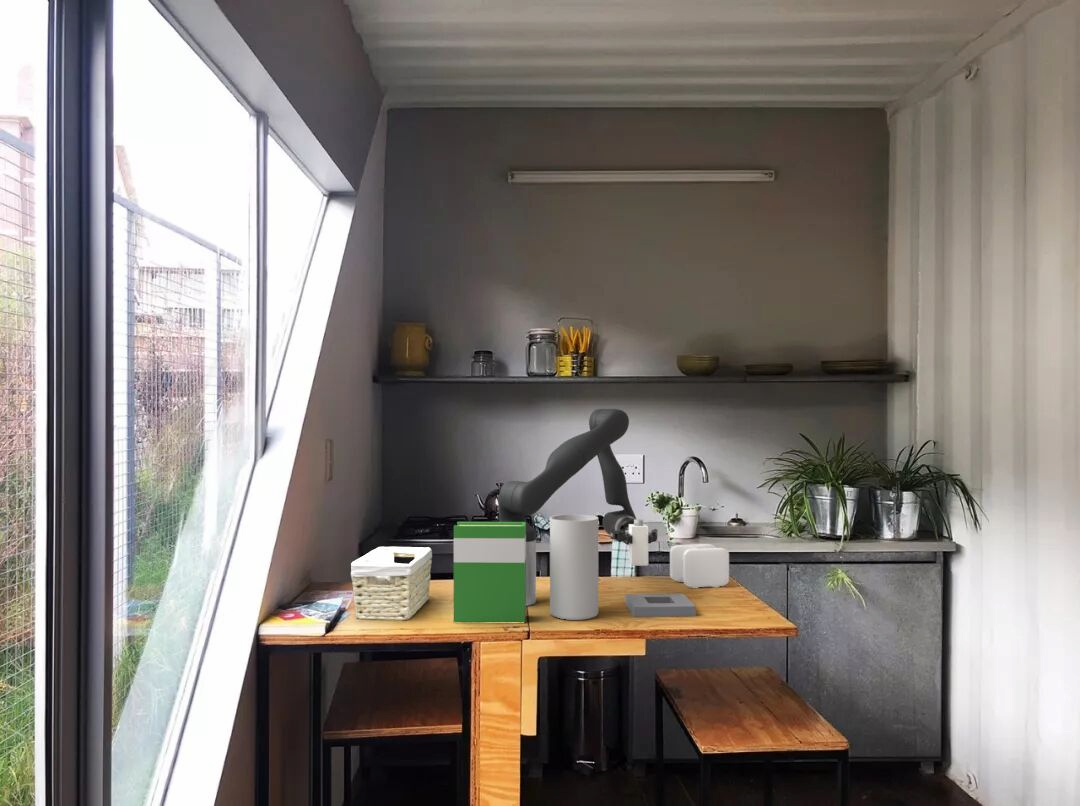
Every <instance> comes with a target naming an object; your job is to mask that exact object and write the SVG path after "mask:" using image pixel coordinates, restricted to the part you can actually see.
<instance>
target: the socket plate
mask: <svg viewBox="0 0 1080 806" xmlns="http://www.w3.org/2000/svg"><path fill="white" fill-rule="evenodd" d="M624 597H625V598H624V604H625V606H626V607H627V608H628V610H629V612H630V613H631V615H632V616H633V618H643V617H645V618H651V617H653V618H656V617H658V618H659V617H696V616H697V614H696V613H697V612H696V611H697V608H696V605H695V604H694V603H693V602H692V600H690V599H689V598H688V597H687V596H686V595H685V593H625V596H624Z"/></svg>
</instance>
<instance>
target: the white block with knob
mask: <svg viewBox="0 0 1080 806" xmlns="http://www.w3.org/2000/svg"><path fill="white" fill-rule="evenodd" d="M648 532H649V526H648V525H647V524H645V523H644V520H643V519H640V518H639V519H638V518H636V519H635V520H634V524H629V534H631V535H632V537H633V543H632V544H630V543H629V545H628V563H629V564H630V565H631V566H632V567H633V566H641V567H642V566H649V544H648Z"/></svg>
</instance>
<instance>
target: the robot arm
mask: <svg viewBox="0 0 1080 806" xmlns="http://www.w3.org/2000/svg"><path fill="white" fill-rule="evenodd" d="M588 420H589V421H588V425H589V426H588V427H589V430H588V431H585V432H583V433H581V434H580V433H579V434H578V435H575V436H573V437H571V438H569V439H567V440H566V441H564V442H562V444H560V445H559V446H558V447H556V449H554V450H553V451H552V452H551V453H550V454H549V456H548V458H547V461H546V464H545V468H544V469H543V471H542V472H540V474H538V475H537V476H535V477H534V478H532V479H531V480H529V481H520V480H519V481H518V480H509V481H506V482H505V483H503V485H502V486H501V487H500V490H499V493H498V502H497V503H498V518H499V519H498V520H499V521H498V522H526V607H529V606H531V605H534V604H536V603H537V532H536V529H535V528H534V527H532V526H531V525H530V524H529V523H528V521H527V519H526V516H527V517H528V516H532V515H534V514H536V513H537V512H538V511H539V510H540V509H541V508H542V507H543V506H544V505H545V504H546V503H547V502H548V501H549V499H550V498H551V497H552V496H554V494H555V493H556V492H557V491H558V490H560V488H561V487H562V486H564V484H566V483H567V482H568V481H569V480H570V479H571V478H572V477H574V476H575V475H576V474H578V473H579V472H580V471H581V470H583V468H584V467H585V466H586V465H587V464H588V463H589V462H590V461H591V460H593V459H594V458H596V457H597V459H598V463H599V466H600V471H601V475H602V481H603V489H604V497H605V502H606V504H608V505H610V506H611V505H612V506H620V507H622V509H621V510H614V511H610V512H607V513H605V515H604V516H603V518H602V527H603V529H604V531H605V532H606V533H607V535H609V536H610V538H609V539H610V540H613V541H615V542H619V543H621V542H622V543H623V544H625V545H627V546H629V543H630V544H632V543H633V537H632V535H631V534H629V524H634V520H635V519H637V517H636V515H635V512H634V510H633V508H632V504H631V502H630V499H629V494H628V486H627V480H626V475H625V472H624V469H622V466H621V465H620V463H619V461H618V460H617V458H616V456H615V454H614V453H613V449H612V447H611V445H612V444H613V443H615V442H617V441H618V440H620V439H621V438H622V437H624V435H625V434H626V433H627V431H628V428H629V425H630V418H629V416H628V414H627V412H625V411H624V410H622V409H619V408H597V409H594V410H593V411H592V412H591V413H590V416H589V419H588ZM658 533H659V532H658V529H656V528H654V529H652V530H651V531H648V545H650V544H651V543H652V542H657V541H658V538H659V537H658V536H659V535H658Z"/></svg>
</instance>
